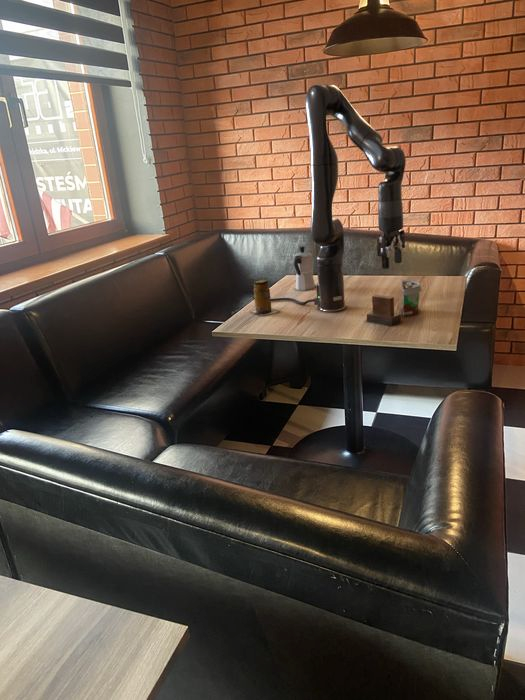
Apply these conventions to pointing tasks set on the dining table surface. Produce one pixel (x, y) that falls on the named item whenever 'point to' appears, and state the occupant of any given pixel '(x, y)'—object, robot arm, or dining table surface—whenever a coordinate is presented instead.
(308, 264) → the coffee maker
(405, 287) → the food container
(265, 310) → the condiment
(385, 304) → the brown stepped block
